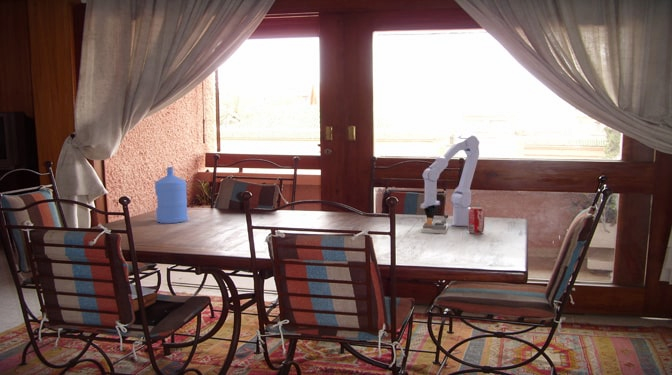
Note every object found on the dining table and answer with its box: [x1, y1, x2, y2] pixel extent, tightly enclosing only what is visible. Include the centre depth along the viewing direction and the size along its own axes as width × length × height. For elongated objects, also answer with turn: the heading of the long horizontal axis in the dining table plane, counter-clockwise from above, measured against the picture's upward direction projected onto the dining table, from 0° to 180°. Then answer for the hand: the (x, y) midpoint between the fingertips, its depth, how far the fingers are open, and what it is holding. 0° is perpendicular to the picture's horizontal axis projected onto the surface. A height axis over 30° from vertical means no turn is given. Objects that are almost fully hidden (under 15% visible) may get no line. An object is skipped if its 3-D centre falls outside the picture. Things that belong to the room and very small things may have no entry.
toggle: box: [442, 213, 449, 222], centre depth 299 cm, size 2×2×5 cm
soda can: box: [467, 205, 485, 235], centre depth 286 cm, size 7×7×12 cm
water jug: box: [154, 166, 189, 224], centre depth 322 cm, size 16×16×28 cm
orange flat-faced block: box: [426, 217, 433, 226], centre depth 299 cm, size 2×3×3 cm
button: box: [435, 221, 444, 226], centre depth 291 cm, size 4×4×2 cm
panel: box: [421, 219, 449, 234], centre depth 296 cm, size 11×17×4 cm, turn 166°
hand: (430, 221), depth 302 cm, fingers closed
